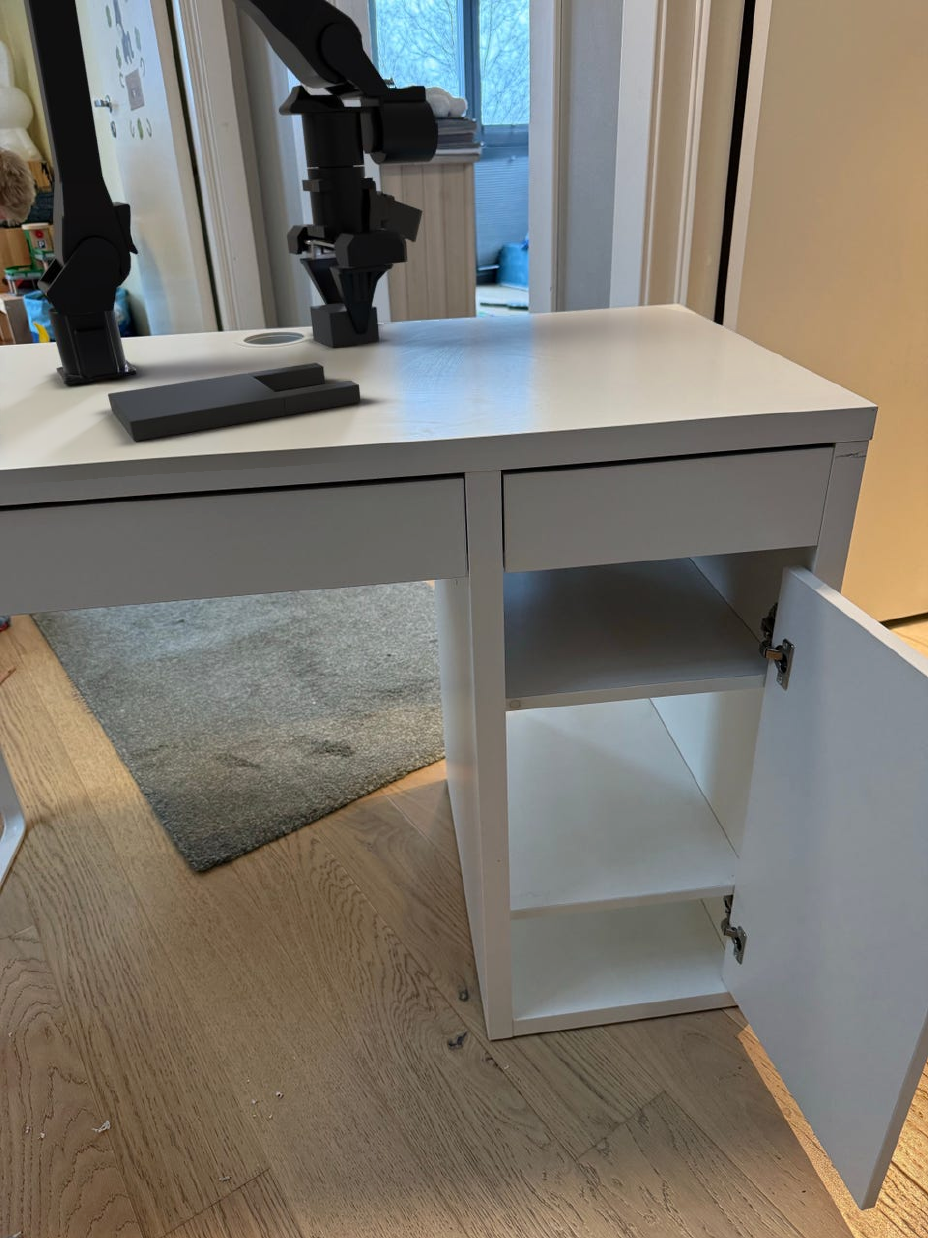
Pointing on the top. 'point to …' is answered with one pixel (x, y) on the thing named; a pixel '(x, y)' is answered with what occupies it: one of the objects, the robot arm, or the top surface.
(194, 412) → the base pad
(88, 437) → the top surface
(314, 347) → the top surface
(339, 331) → the dark grey rectangular block
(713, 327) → the top surface
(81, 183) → the robot arm
